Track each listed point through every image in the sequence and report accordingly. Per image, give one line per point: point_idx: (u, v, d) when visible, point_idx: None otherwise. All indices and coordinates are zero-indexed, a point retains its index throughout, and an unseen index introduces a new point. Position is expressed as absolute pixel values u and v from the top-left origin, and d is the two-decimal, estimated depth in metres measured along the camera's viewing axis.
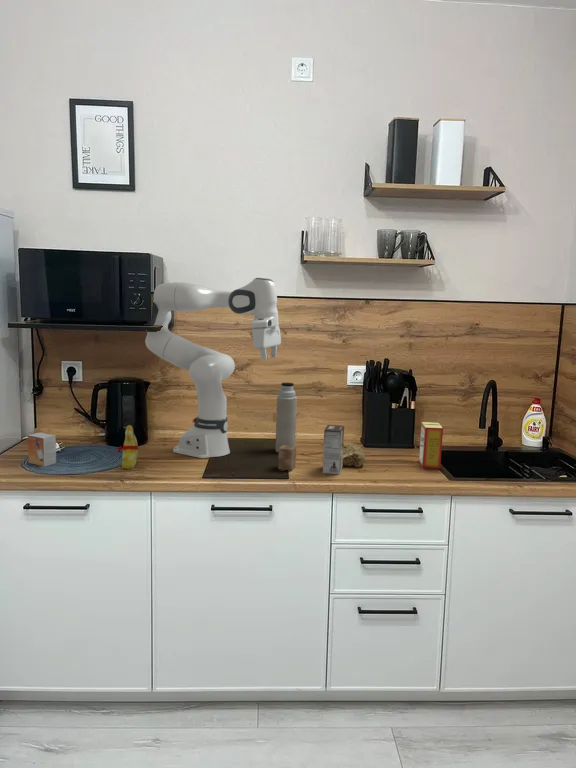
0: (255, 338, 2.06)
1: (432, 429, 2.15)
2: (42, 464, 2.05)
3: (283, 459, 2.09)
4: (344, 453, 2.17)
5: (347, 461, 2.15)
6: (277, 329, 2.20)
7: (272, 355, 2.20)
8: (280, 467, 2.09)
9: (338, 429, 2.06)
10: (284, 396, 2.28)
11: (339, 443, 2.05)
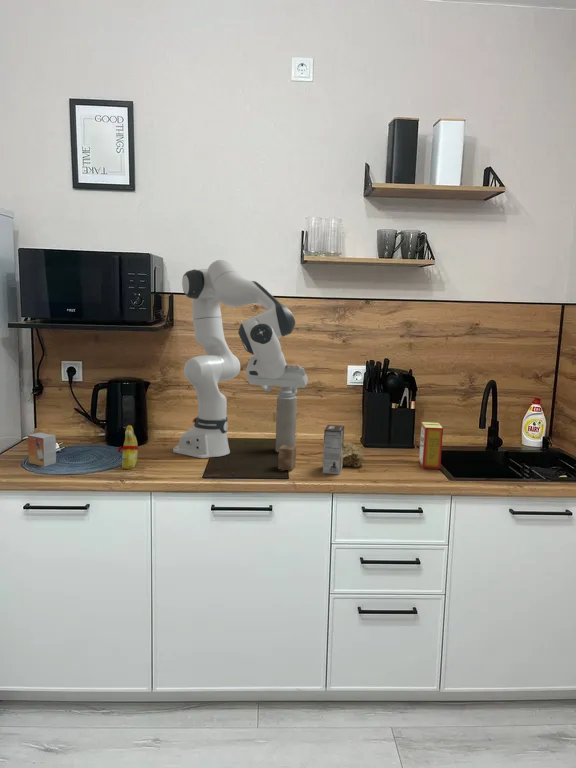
0: None
1: (432, 429, 2.15)
2: (42, 464, 2.05)
3: (283, 459, 2.09)
4: (343, 453, 2.17)
5: (346, 461, 2.15)
6: (292, 376, 1.87)
7: None
8: (280, 467, 2.09)
9: (338, 429, 2.06)
10: (284, 396, 2.28)
11: (339, 443, 2.05)
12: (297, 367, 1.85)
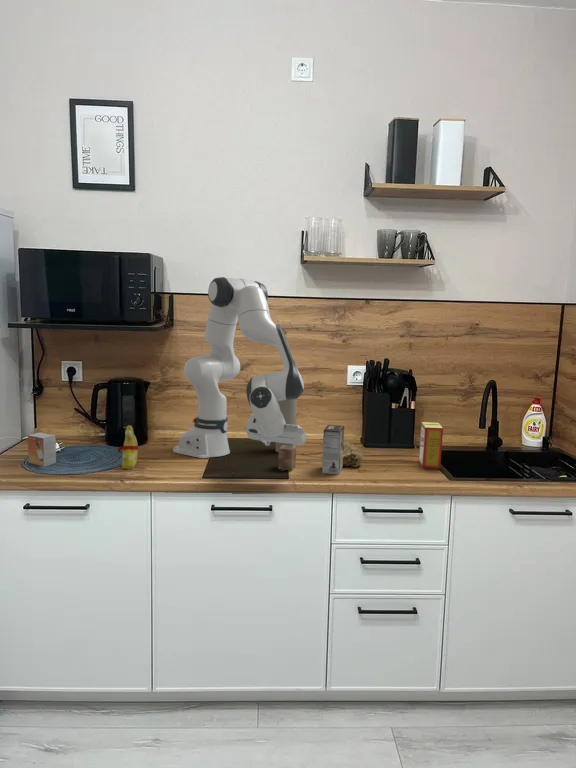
0: None
1: (432, 429, 2.15)
2: (42, 464, 2.05)
3: (283, 459, 2.09)
4: None
5: (345, 461, 2.15)
6: (290, 435, 1.91)
7: None
8: (280, 467, 2.09)
9: (338, 429, 2.06)
10: None
11: (338, 443, 2.04)
12: (295, 427, 1.89)
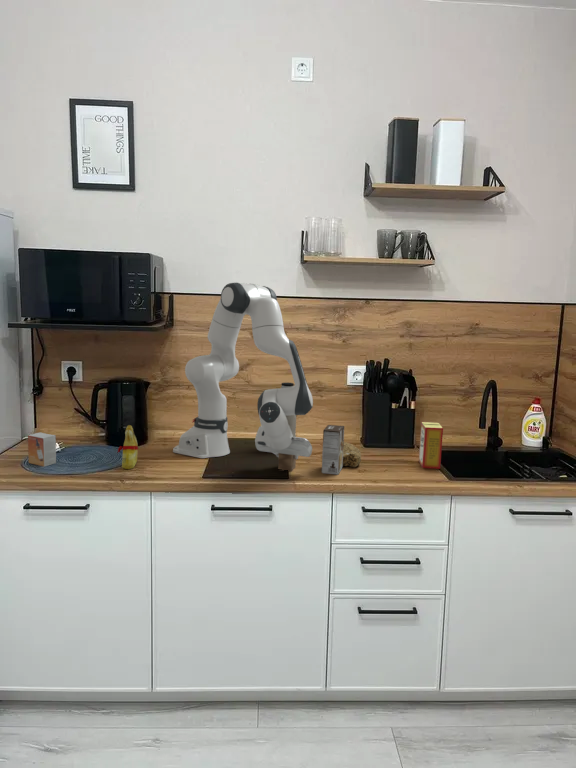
0: None
1: (432, 429, 2.15)
2: (42, 464, 2.05)
3: (283, 459, 2.09)
4: None
5: (343, 461, 2.15)
6: (297, 447, 2.00)
7: None
8: (280, 467, 2.09)
9: (337, 429, 2.06)
10: None
11: (338, 443, 2.04)
12: (302, 440, 1.98)
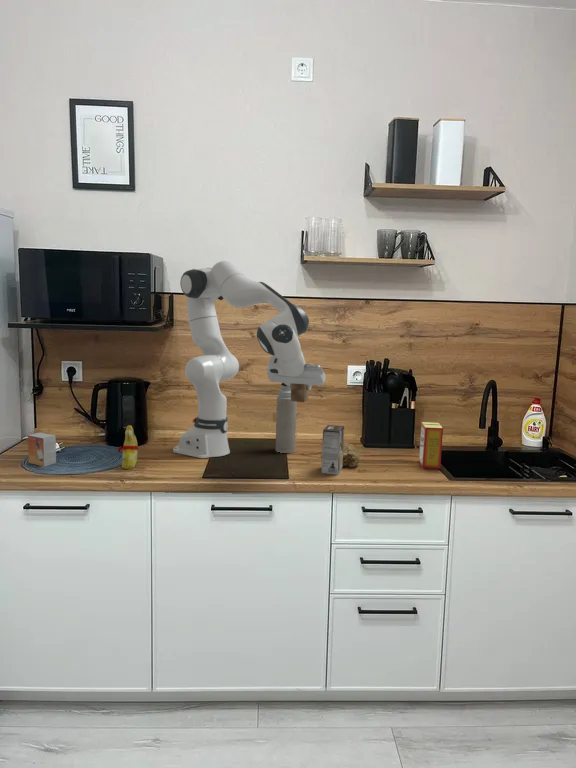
0: None
1: (432, 429, 2.15)
2: (42, 464, 2.05)
3: (295, 390, 2.04)
4: None
5: None
6: (310, 375, 1.96)
7: None
8: (293, 398, 2.05)
9: (337, 429, 2.06)
10: (284, 396, 2.28)
11: (338, 443, 2.04)
12: (316, 366, 1.94)
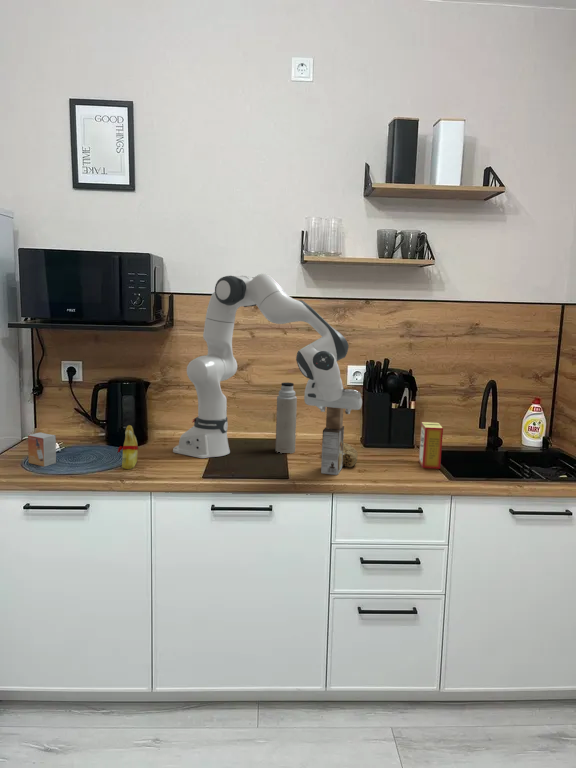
0: None
1: (432, 429, 2.15)
2: (42, 464, 2.05)
3: (331, 417, 2.06)
4: None
5: None
6: (348, 399, 1.97)
7: None
8: (328, 425, 2.07)
9: (337, 429, 2.05)
10: (284, 396, 2.28)
11: (337, 443, 2.04)
12: (354, 391, 1.95)
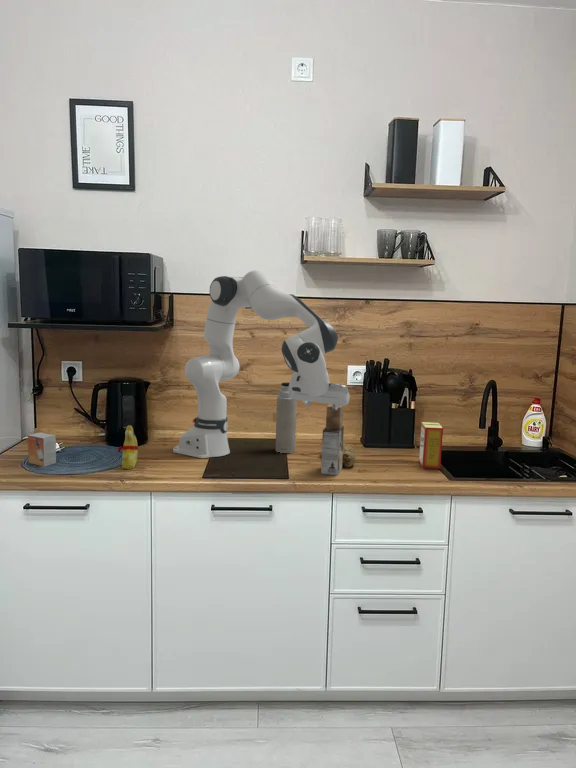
0: None
1: (432, 429, 2.15)
2: (42, 464, 2.05)
3: (331, 417, 2.06)
4: None
5: None
6: (334, 394, 1.86)
7: None
8: (328, 426, 2.06)
9: (337, 430, 2.05)
10: (284, 396, 2.28)
11: (337, 444, 2.04)
12: (341, 386, 1.84)
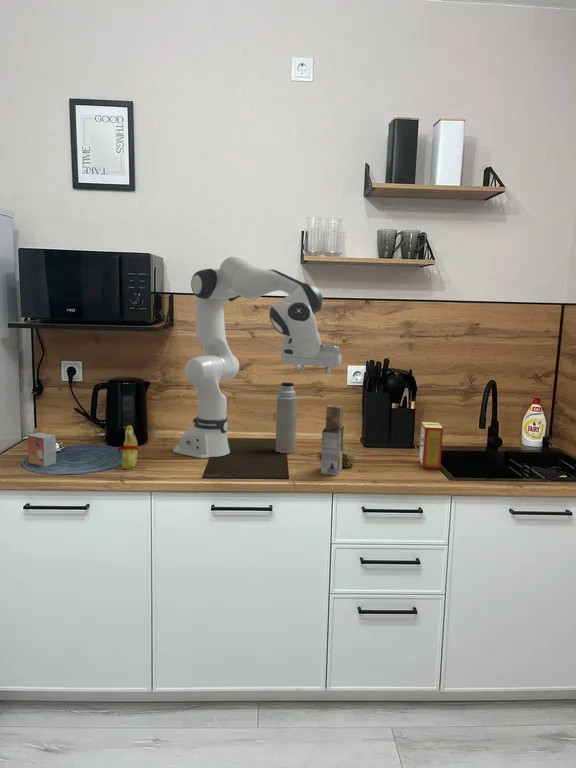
0: None
1: (432, 429, 2.15)
2: (42, 464, 2.05)
3: (331, 417, 2.05)
4: None
5: None
6: (326, 356, 1.88)
7: None
8: (328, 426, 2.06)
9: (336, 430, 2.05)
10: (284, 396, 2.28)
11: (337, 444, 2.03)
12: (332, 346, 1.86)
